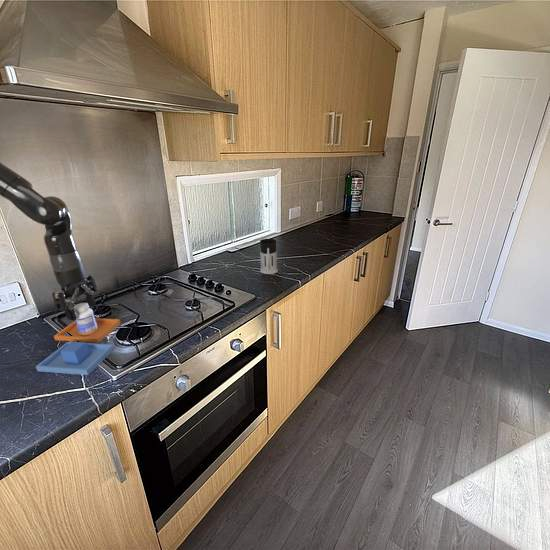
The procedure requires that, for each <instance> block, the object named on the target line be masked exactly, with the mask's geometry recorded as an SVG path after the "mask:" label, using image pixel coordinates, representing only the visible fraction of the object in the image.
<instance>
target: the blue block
mask: <svg viewBox="0 0 550 550" xmlns="http://www.w3.org/2000/svg"><path fill="white" fill-rule="evenodd" d="M70 342H71V343H70V344H69V345H68V346H66V347H65V348H64V349H62V350H61V351H60V352H61V354H62V357H63V359H64V362H65V364H74V365H80V364H81V363H82V362H83V361H84V360H85V359H86V358H87V357H89V356H90V352H89V349H88V347H87V344H86V343H87V342H77V341H70Z"/></svg>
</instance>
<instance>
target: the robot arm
mask: <svg viewBox="0 0 550 550" xmlns="http://www.w3.org/2000/svg"><path fill="white" fill-rule="evenodd" d="M0 196H1V197H2V198H4V199H6V200H7V201H9V202H10V203H11V204H12V205H13V206H14V207H15V208H16V209H18V210H19V211H20V212H21V213H23V214H24V215H25V216H26V217H27V218H29V219H30V220H32V221H33V222H35V223H37V224H39V225H42V226H44V227H45V233H44V235H43V243H44V245H45V248H46V252H47V254H48V259H49V264H50V265H51V268H52V269H51V270H52V271H53V275H54V277H55V279H56V282H57V284H58V285H59V287H60V290H59V291H53V292H52V293H51V295H52V300H53V303H54V305H55V309H56V311H57V312H64V314H65V315H66V319H67V320H69V321H75V320H76V319H77V318H76V315H75V311H74V305H75V303H76V302H77V299H78V298H79V297H80V296H83V295H84V296H85V300H86V303H88V305H89V308H91V307H92V308H93V307H95V306H96V305H97V304H96V302H97V301H96V299H95V292H96V293H97V292H98V289H99V288H98V287H97V283H96V281H95V278H94V275H93V274H86V271H85V267H84V265H83V264H84V263H83V261H82V258H81V255H80V253H79V251H78V248H77V245H76V241H75V237H74V236H73V229H72V228H73V227H72V220H71V213H70V209H69V207H68V205H67V204H66V202H65V201H64V200H63V199H61V198H59V197H57V196H53V195H52V196H51V195H50V196H49V195H48V196H45V197H44V196H43V195H41V194H40V193H38V191H36V190H35V189H34V187H33V185H32V183H31V182H30V181H29V180H27V179H26V178H25V177H23V176H21V175H20V174H19V173H17V172H16V171H14V170H13V169H11V168H9V167H8V166H6V165H5V164H3V163H2V162H1V161H0Z"/></svg>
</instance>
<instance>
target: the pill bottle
mask: <svg viewBox="0 0 550 550" xmlns="http://www.w3.org/2000/svg"><path fill="white" fill-rule="evenodd" d="M73 309H74V312H75V315H76V318H77V319H76V320H74V321H75V322H76V325H77V328H78V331H79V333H80V335H90V334H92V333H94V332H96V331H97V329H98V326H97V323H96V320H95V318H96V317H95V313H94V310H93V309H92V308H91V307H90V306H89V305H88V303H87V302H80V303H77V304H74V305H73Z"/></svg>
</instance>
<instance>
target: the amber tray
mask: <svg viewBox="0 0 550 550" xmlns="http://www.w3.org/2000/svg"><path fill="white" fill-rule="evenodd" d="M95 320H96V323H97V326H98V329H97V331H96V332H94V333H92V334H90V335H80V333H79V331H78V328H77V325H76V322H75V320H73V322H71V323H69V324H68V325H67V326H66V327H64V328H63V329H61V330H60V331H59V332H57V333H55V335H53V338H54V341H64V342H77V341H79V342H86V343H95V344H100V342H102V341H103V340H104V339H105V338H107V336H108V335H110V334H111V333H112V332H113V330H115V329H116V328H117V327H118V326H120V325H121V320H120V319H118V318H101V317H99V318H98V317H95ZM67 332H68V333H70V334H72V335H73V336H64V334H65V333H67Z"/></svg>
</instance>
